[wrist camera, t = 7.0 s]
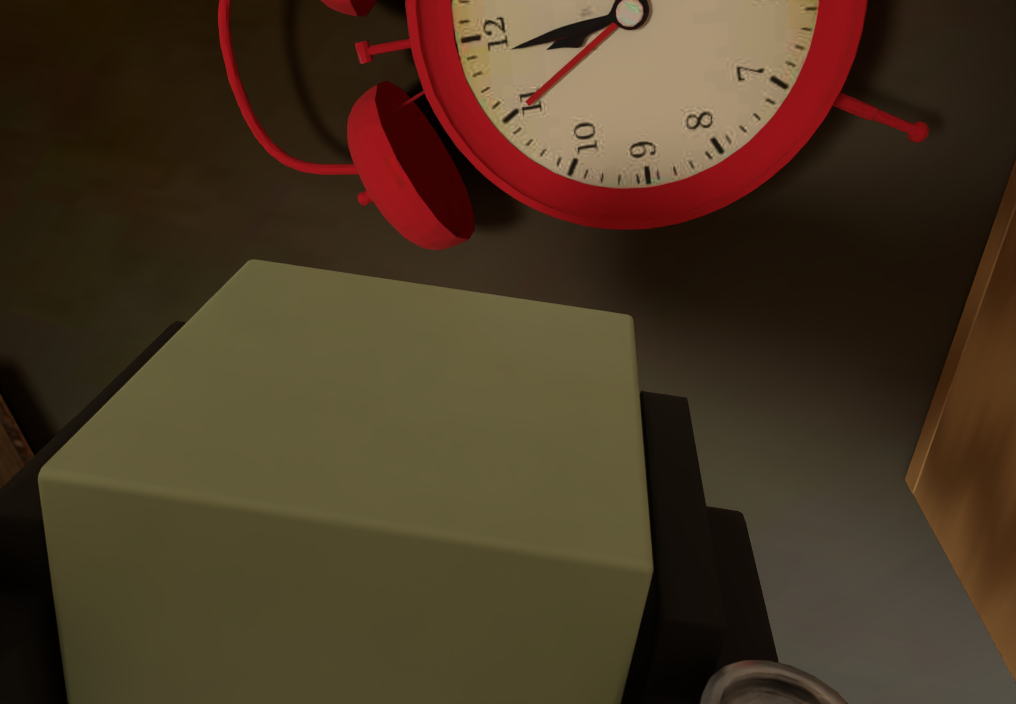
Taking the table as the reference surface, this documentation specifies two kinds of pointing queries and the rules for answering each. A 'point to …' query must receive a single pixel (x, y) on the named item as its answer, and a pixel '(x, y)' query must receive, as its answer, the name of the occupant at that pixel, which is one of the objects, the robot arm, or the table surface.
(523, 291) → the table surface
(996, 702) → the table surface
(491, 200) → the table surface
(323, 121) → the table surface
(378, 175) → the alarm clock
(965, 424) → the chest
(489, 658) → the block
